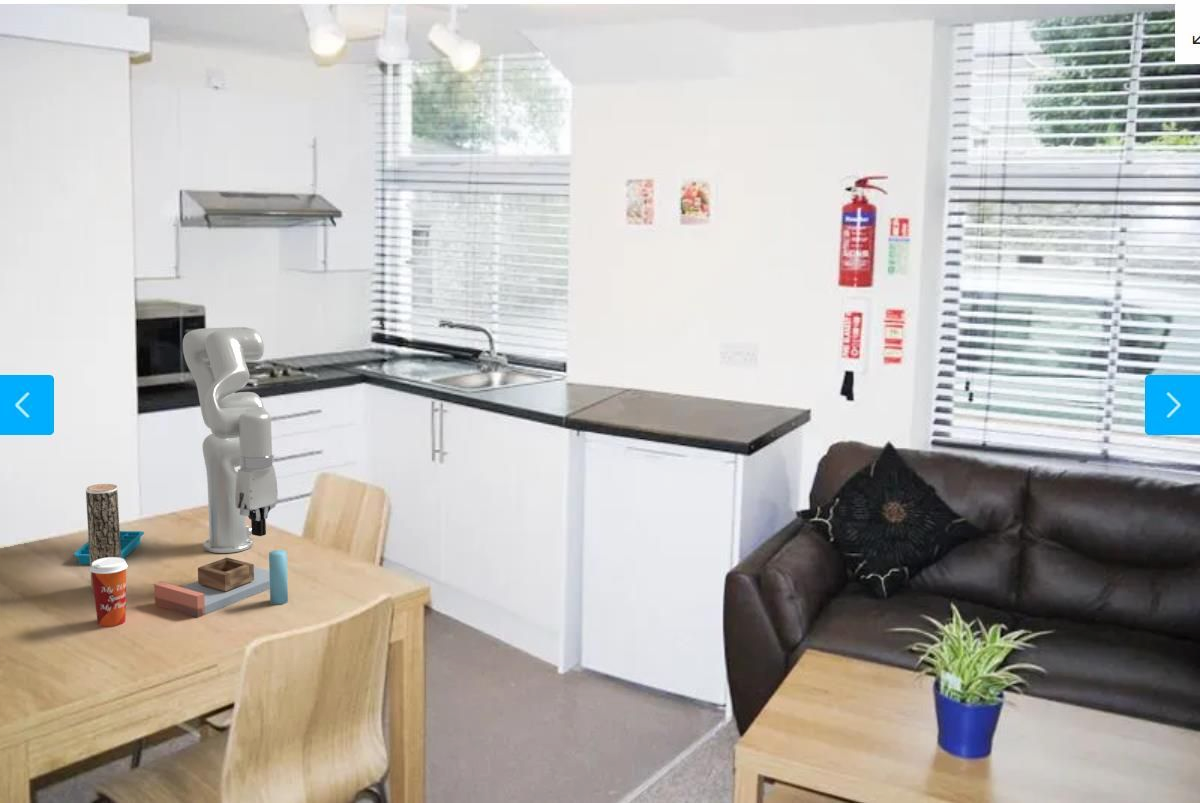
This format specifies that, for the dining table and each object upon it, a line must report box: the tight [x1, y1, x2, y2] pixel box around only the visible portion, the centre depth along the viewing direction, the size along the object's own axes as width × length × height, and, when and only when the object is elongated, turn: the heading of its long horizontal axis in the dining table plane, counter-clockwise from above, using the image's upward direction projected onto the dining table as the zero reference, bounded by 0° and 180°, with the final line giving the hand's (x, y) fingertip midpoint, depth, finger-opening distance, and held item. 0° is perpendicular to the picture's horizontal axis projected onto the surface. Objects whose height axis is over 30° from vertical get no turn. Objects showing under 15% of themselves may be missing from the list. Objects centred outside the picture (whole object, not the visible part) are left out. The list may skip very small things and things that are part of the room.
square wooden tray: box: [197, 557, 255, 591], centre depth 265 cm, size 9×9×4 cm
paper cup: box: [89, 557, 129, 628], centre depth 244 cm, size 8×8×14 cm
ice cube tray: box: [73, 530, 145, 565], centre depth 290 cm, size 12×20×3 cm, turn 4°
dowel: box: [268, 549, 289, 606], centre depth 260 cm, size 4×4×12 cm
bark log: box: [85, 483, 121, 591], centre depth 263 cm, size 7×7×25 cm
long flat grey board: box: [153, 566, 270, 618], centre depth 264 cm, size 27×14×5 cm, turn 151°
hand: (258, 534), depth 272 cm, fingers closed
